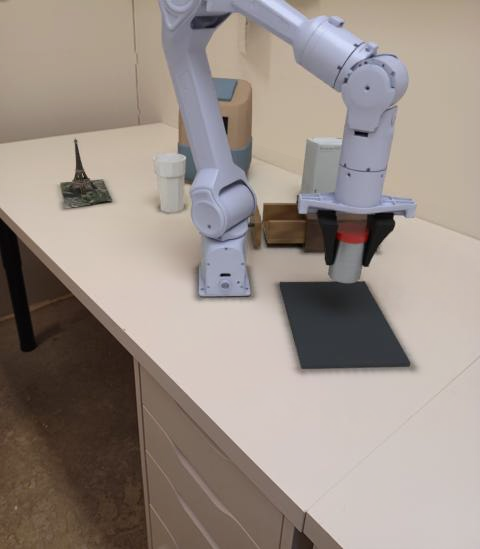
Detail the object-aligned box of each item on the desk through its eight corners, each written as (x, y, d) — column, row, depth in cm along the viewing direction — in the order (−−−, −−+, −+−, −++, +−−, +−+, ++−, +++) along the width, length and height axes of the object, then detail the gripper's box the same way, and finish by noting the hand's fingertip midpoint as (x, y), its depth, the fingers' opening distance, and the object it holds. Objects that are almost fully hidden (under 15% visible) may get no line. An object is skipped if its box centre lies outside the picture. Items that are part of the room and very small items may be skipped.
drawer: (231, 246, 86) (232, 222, 83) (228, 222, 95) (229, 200, 92) (321, 246, 87) (325, 222, 85) (310, 222, 96) (313, 200, 94)
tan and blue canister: (174, 185, 115) (170, 83, 103) (192, 164, 129) (190, 72, 117) (242, 191, 112) (246, 88, 101) (253, 170, 127) (257, 77, 115)
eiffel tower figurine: (113, 203, 104) (107, 141, 97) (65, 208, 100) (54, 145, 94) (102, 180, 116) (96, 125, 109) (59, 185, 112) (49, 127, 105)
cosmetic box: (309, 213, 102) (317, 144, 95) (297, 203, 107) (304, 137, 100) (343, 210, 105) (354, 142, 97) (331, 200, 110) (340, 135, 102)
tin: (363, 284, 63) (372, 237, 60) (329, 283, 63) (337, 236, 60) (357, 267, 67) (365, 222, 64) (325, 266, 67) (332, 221, 64)
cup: (152, 212, 100) (149, 161, 95) (161, 200, 106) (158, 152, 100) (183, 215, 100) (181, 163, 94) (190, 203, 105) (189, 154, 100)
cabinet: (304, 252, 87) (308, 219, 83) (293, 225, 97) (296, 195, 93) (376, 252, 88) (383, 219, 84) (358, 225, 98) (364, 195, 94)
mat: (409, 366, 61) (410, 362, 60) (301, 368, 60) (302, 365, 59) (363, 284, 78) (364, 281, 77) (279, 284, 77) (279, 281, 76)
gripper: (413, 157, 61) (392, 251, 68) (300, 153, 61) (291, 247, 68) (430, 175, 55) (406, 276, 62) (305, 170, 55) (294, 271, 62)
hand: (346, 262), depth 64 cm, fingers closed on tin, 4 cm apart
